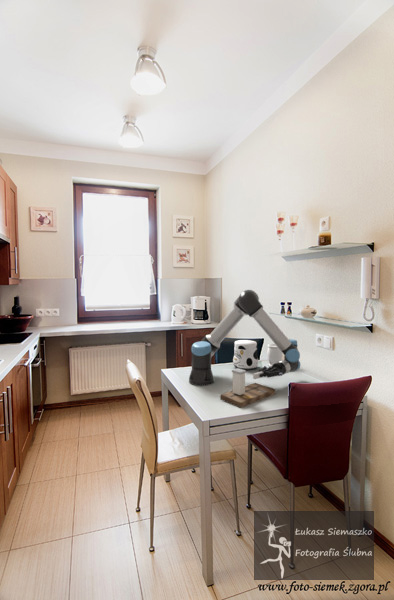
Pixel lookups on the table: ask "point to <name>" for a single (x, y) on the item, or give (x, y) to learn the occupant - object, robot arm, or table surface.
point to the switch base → (248, 395)
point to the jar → (274, 354)
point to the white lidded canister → (238, 381)
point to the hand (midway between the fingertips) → (254, 376)
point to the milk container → (245, 354)
